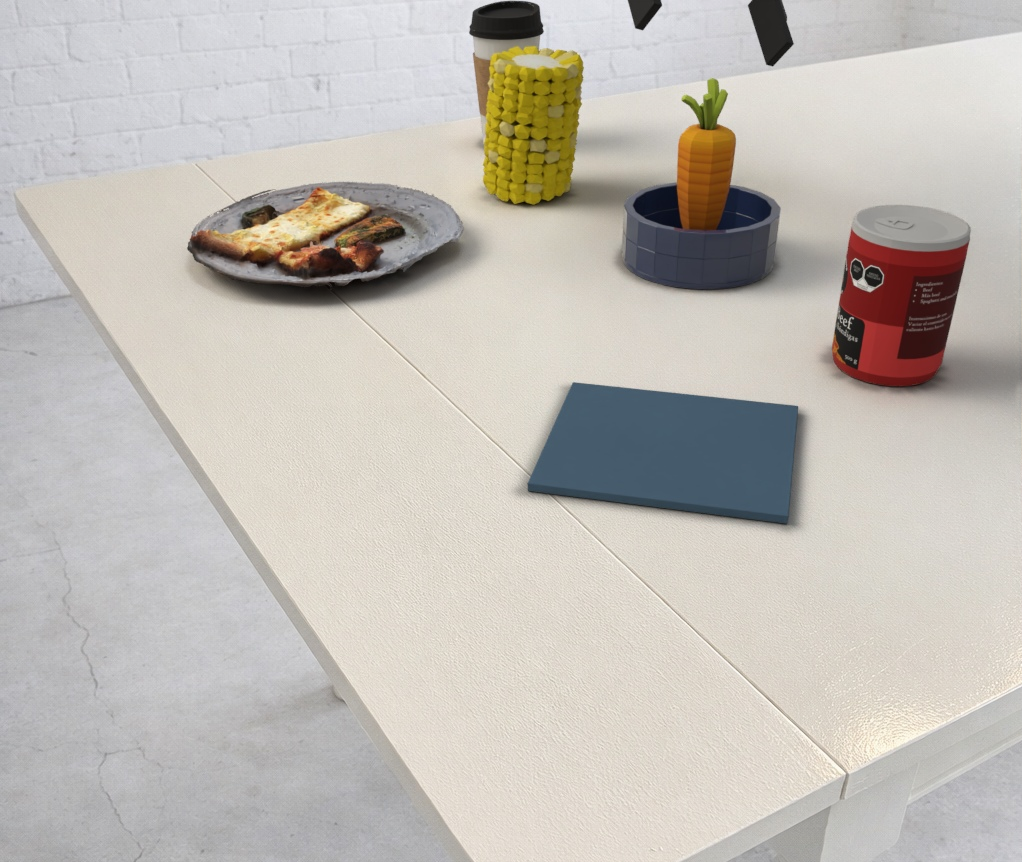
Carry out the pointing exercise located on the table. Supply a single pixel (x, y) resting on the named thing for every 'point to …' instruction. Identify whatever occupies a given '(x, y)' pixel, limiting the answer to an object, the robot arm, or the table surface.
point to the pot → (699, 240)
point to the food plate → (324, 233)
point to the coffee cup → (501, 39)
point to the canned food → (899, 293)
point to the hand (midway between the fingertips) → (716, 37)
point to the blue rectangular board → (671, 452)
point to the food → (531, 123)
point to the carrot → (705, 162)
